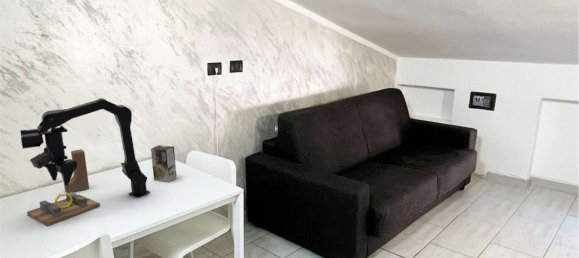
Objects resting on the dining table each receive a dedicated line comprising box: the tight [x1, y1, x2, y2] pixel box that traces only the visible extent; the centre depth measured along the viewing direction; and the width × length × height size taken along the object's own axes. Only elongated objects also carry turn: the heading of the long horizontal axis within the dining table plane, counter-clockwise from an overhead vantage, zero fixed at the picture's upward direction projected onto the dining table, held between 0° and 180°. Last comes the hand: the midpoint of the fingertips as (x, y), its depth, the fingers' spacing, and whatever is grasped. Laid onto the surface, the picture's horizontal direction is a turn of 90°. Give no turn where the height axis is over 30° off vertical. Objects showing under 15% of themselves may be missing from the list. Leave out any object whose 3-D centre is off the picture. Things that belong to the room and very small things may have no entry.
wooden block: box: [63, 148, 90, 193], centre depth 169 cm, size 9×4×18 cm, turn 133°
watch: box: [54, 191, 73, 209], centre depth 150 cm, size 6×3×6 cm, turn 139°
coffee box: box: [150, 144, 177, 183], centre depth 183 cm, size 9×6×16 cm
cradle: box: [26, 192, 101, 227], centre depth 151 cm, size 16×20×4 cm
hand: (60, 182), depth 148 cm, fingers open, 9 cm apart
